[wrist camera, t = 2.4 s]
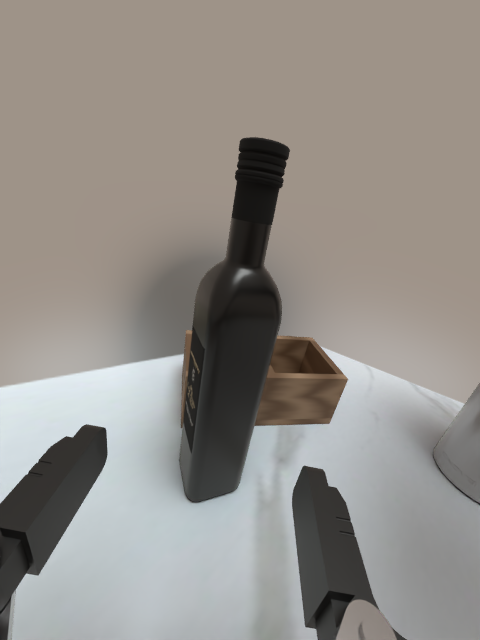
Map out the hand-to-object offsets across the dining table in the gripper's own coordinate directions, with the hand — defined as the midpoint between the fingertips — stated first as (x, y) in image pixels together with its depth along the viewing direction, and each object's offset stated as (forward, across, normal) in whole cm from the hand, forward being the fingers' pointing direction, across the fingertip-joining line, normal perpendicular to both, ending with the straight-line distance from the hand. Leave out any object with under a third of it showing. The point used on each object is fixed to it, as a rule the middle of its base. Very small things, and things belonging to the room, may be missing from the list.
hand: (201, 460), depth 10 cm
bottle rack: (+24, -4, +17) cm, 30 cm away
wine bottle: (+12, 0, +17) cm, 21 cm away
